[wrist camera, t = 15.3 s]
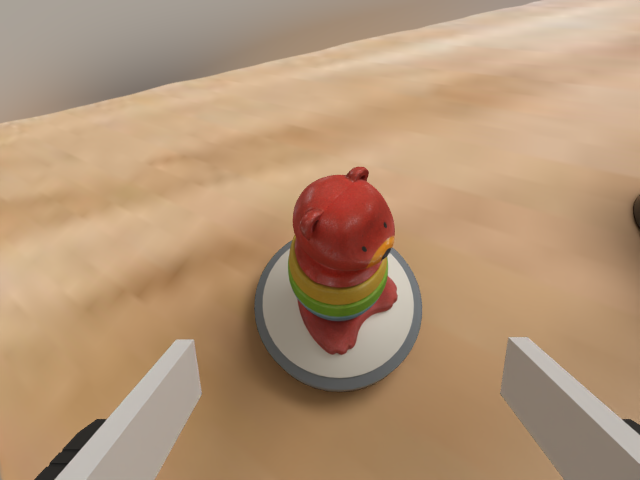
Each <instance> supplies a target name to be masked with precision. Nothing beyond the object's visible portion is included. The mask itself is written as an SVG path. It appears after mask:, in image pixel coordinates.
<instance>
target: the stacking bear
mask: <svg viewBox="0 0 640 480" xmlns="http://www.w3.org/2000/svg"><path fill="white" fill-rule="evenodd" d="M368 174H369V172H368V170H367V169H366V168H364V167H355V168H353V169H352V170H350V171H349V173H348V174H347V175H332V176H327V177H324V178H321V179H318V180H316V181H315V182H313V183H311V184H310V185H309V186H307V187H306V188H305V189H304V191H303V192H302V193H301V195H300V196H299V198H298V200H297V202H296V204H295V207H294V212H293V228H294V233H295V235H294V237H293V240H292V243H291V247H290V252H289V258H288V275H289V281H290V284H291V287H292V290H293V292H294V294H295V296H296V297H297V300H298V306H299V311H300V314H301V317H302V320H303V322H304V324H305V326H306V328H307V330H308V332H309V333H310V335H311V336H312V338H313V339H314V340H315V341H316V342H317V344H318V345H319V346H320V347H321V348H322V349H323V350H325V351H326V352H327V353H329V354H331V355H334V354H336V353H338V354H340V355H343V354H345V353H347V351H348V349H352V348H353V347H354V346H355V344H356V341H357V335H358V332H359V329H360V327H361V326H362V324H363V323H364V321H365V320H366V319H367V318H369V317H370V316H372V315H374V314H376V313H379V312H384V311H387V310H389V309H391V308H392V306H393V303H395V302H396V301H397V298H398V295H397V286H396V285H395V283H394V282H393V280H392V279H391V278H390V277H389V276H388V258H387V256H388V254H389V253H390V250H391V248H392V246H393V243H394V235H395V228H394V221H393V217H392V214H391V212H390V209H389V207H388V205H387V203H386V201H385V200H384V198H383V197H382V195H381V194H380V193H379V192H378V191H377V189H376V188H374V187H373V186H372V185H371V184H369V183H368V182H367V178H368Z"/></svg>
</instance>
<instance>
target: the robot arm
mask: <svg viewBox="0 0 640 480" xmlns="http://www.w3.org/2000/svg"><path fill="white" fill-rule="evenodd" d="M634 215H635V219H636V221H637V224H638V225H639V227H640V195H639V196H638V198H637V199H636V201H635V204H634ZM500 394H501V396H502V397H503V398H504V400H505V401H506V402H507V404H508V405H509V406H510V408H511V409H512V410H513V412H514V413H515V414H516V416H517V417H518V418H519V420H520V421H521V422H522V424H523V425H524V426H525V428H526V429H527V430H528V432H529V433H530V434H531V436H532V437H533V438H534V440H535V441H536V442H537V444H538V445H539V447H540V448H541V449H542V451H543V452H544V453H545V455H546V456H547V457H548V459H549V460H550V461H551V463H552V464H553V465H554V467H555V468H556V469H557V471H558V472H559V473H560V475H561V476H562V477H563V479H564V480H640V425H639V424H637V423H636V422H634V421H632V420H631V419H621V418H620V417H618V416H617V415H616V414H615V413H614V412H613V411H612V410H610V409H609V408H608V407H607V406H606V405H605V404H603V403H602V402H601V401H600V400H599V399H598V398H597V397H595V396H594V395H593V394H592V393H591V392H590V391H589V390H587V389H586V388H585V387H584V386H583V385H582V384H581V383H579V382H578V381H577V380H576V379H575V378H574V377H573V376H571V375H570V374H569V373H568V372H567V371H566V370H565V369H563V368H562V367H561V366H560V365H559V364H558V363H556V362H555V361H554V360H553V359H552V358H551V357H550V356H548V355H547V354H546V353H545V352H544V351H543V350H542V349H540V348H539V347H538V346H537V345H536V344H535V343H534V342H532V341H531V340H530V339H529V338H528V337H508V343H507V350H506V357H505V364H504V371H503V378H502V385H501V392H500ZM201 395H202V392H201V385H200V378H199V371H198V364H197V357H196V350H195V343H194V339H193V340H176V341H175V342H174V343H173V344H172V345H171V346H170V347H169V349H168V350H167V351H166V352H165V353H164V354H163V355H162V357H161V358H160V359H159V360H158V361H157V362H156V364H155V365H154V366H153V367H152V368H151V369H150V370H149V372H148V373H147V374H146V375H145V376H144V377H143V378H142V380H141V381H140V382H139V383H138V384H137V385H136V387H135V388H134V389H133V390H132V391H131V392H130V393H129V395H128V396H127V397H126V398H125V399H124V400H123V401H122V403H121V404H120V405H119V406H118V407H117V408H116V410H115V411H114V412H113V413H112V414H111V415H110V416H109V418H108V419H97V420H95V421H94V422H92V423H91V424H90V425H88V426H87V427H85V428H84V429H83V430H81V431H80V432H79V433H77V434H76V436H75V437H74V438H73V439H72V440H71V441H70V442H69V443H68V444H67V445H66V446H65V447H64V448H63V451H62V452H61V453H59V454H58V455H57V456H56V457H55V458H54V459H53V460H52V461H51V462H50V465H49V466H48V467H46V468H45V469H44V470H43V471H42V472H41V473H40V474H39V475H38V476H37V477H36V478H35V479H34V480H155V478H156V476H157V474H158V473H159V471H160V469H161V467H162V465H163V464H164V462H165V460H166V458H167V456H168V454H169V453H170V451H171V449H172V447H173V445H174V444H175V442H176V440H177V438H178V436H179V435H180V433H181V431H182V429H183V427H184V426H185V424H186V422H187V420H188V418H189V416H190V415H191V413H192V411H193V409H194V407H195V406H196V404H197V402H198V400H199V398H200V397H201Z"/></svg>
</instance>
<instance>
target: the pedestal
mask: <svg viewBox="0 0 640 480" xmlns="http://www.w3.org/2000/svg"><path fill="white" fill-rule="evenodd" d="M291 243H292V241H290V242H289V243H287V244H286V245H285V246H283V247H282V248H281V249H280V250H279V251H278V252H277V253H276V254H275V255H274V256H273V257H272V259H271V260H270V261H269V263H268V264H267V266H266V267H265V269H264V271H263V273H262V275H261V277H260V280H259V283H258V286H257V290H256V295H255V308H254V309H255V320H256V324H257V328H258V332H259V334H260V337H261V339H262V342H263V343H264V345H265V347H266V349H267V351H268V352H269V353H270V355H271V356H272V357H273V359H274V360H275V361H276V362H277V363H278V364H279V365H280V366H281V367H282V368H283V369H284V370H285V371H286V372H287V373H288V374H290V375H291V376H292V377H294V378H295V379H296V380H298V381H300V382H302V383H304V384H306V385H308V386H311V387H313V388H316V389H320V390H324V391H330V392H347V391H354V390H359V389H363V388H365V387H368V386H370V385H373V384H374V383H376V382H378V381H380V380H381V379H383V378H384V377H385V376H387V375H388V374H389V373H390V372H392V371H393V370H394V369H395V368H397V367H398V366H399V365H400V363H401V362H402V361H403V360H404V359H405V358H406V356H407V355H408V354H409V352H410V351H411V349H412V347H413V345H414V343H415V341H416V339H417V336H418V333H419V330H420V325H421V319H422V300H421V294H420V290H419V286H418V283H417V281H416V278H415V276H414V274H413V272H412V270H411V269H410V267H409V265H408V264H407V263H406V261H405V260H404V259H403V257H402V256H401V255H400V254H399V253H398V252H397V251H396V250H395V249H393V248H391V250H390V253H389V254H388V256H387V258H388V276H389V277H390V278H391V279H392V280H393V282H394V283H395V285H396V286H397V295H398V298H397V301H396V302H395V303H393V306H392V308H391V309H389V310H387V311H384V312H379V313H376V314H374V315H372V316H370V317H369V318H367V319H366V320H365V321H364V323H363V324H362V326H361V327H360V329H359V332H358V335H357V341H356V344H355V346H354V347H353V348H352V349H348V351H347V353H345V354H343V355H340V354H338V353H336V354H334V355H331V354H329V353H327V352H326V351H325V350H323V349H322V348H321V347H320V346H319V345H318V344H317V342H316V341H315V340H314V339H313V338H312V336H311V335H310V333H309V332H308V330H307V328H306V326H305V324H304V322H303V320H302V317H301V314H300V311H299V306H298V300H297V297H296V296H295V294H294V292H293V290H292V287H291V284H290V281H289V275H288V258H289V252H290V247H291Z"/></svg>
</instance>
